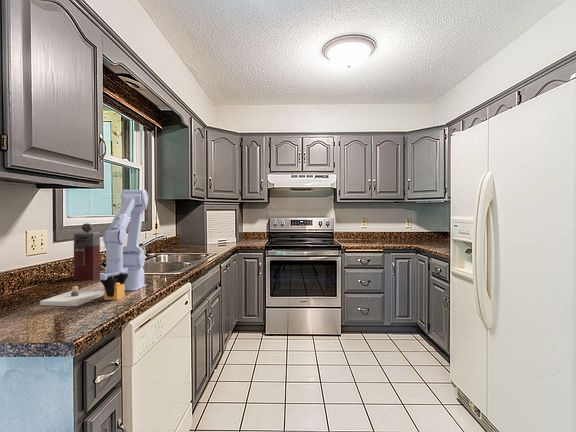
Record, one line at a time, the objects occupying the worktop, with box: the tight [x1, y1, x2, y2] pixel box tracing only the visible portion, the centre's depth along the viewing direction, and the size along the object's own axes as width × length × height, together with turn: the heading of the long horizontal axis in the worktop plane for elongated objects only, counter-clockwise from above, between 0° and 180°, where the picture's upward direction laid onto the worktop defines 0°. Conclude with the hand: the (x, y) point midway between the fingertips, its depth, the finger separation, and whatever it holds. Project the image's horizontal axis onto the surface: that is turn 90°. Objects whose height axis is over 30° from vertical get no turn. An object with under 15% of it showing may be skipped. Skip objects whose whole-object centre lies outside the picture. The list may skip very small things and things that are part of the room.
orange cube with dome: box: [104, 282, 126, 301], centre depth 122 cm, size 5×5×6 cm
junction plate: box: [39, 285, 105, 307], centre depth 120 cm, size 16×14×5 cm
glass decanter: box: [73, 222, 101, 281], centre depth 157 cm, size 9×11×28 cm
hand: (114, 294), depth 122 cm, fingers closed on orange cube with dome, 5 cm apart
